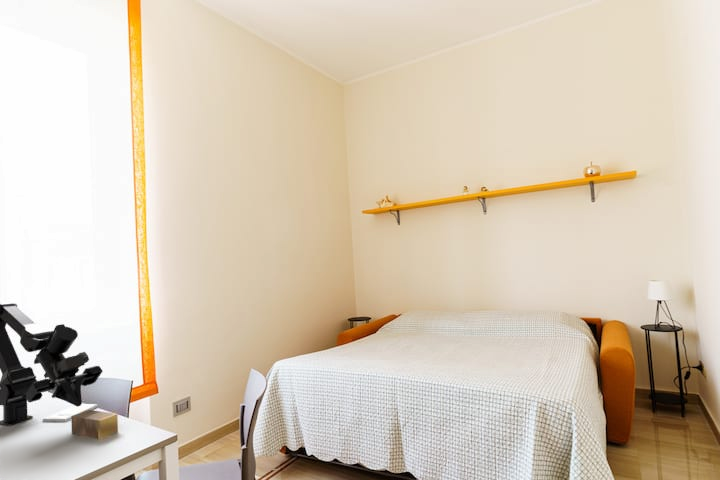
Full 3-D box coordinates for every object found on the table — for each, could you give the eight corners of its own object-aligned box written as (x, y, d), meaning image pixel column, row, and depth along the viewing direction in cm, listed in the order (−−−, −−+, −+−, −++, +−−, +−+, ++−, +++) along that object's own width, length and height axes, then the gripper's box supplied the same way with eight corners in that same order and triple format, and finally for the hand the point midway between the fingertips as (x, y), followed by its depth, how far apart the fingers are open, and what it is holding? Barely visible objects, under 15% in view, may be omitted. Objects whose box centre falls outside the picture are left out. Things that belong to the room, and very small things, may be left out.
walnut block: (71, 416, 116) (100, 420, 111) (89, 409, 121) (117, 413, 116) (71, 434, 116) (100, 439, 111) (89, 427, 120) (117, 432, 116)
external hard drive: (97, 409, 138) (65, 423, 126) (76, 408, 139) (42, 423, 127) (97, 404, 138) (65, 418, 126) (76, 403, 139) (42, 418, 127)
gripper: (31, 352, 113) (57, 397, 108) (98, 339, 130) (123, 377, 125) (14, 380, 116) (39, 424, 111) (82, 363, 133) (106, 401, 128)
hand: (79, 405), depth 119 cm, fingers closed
